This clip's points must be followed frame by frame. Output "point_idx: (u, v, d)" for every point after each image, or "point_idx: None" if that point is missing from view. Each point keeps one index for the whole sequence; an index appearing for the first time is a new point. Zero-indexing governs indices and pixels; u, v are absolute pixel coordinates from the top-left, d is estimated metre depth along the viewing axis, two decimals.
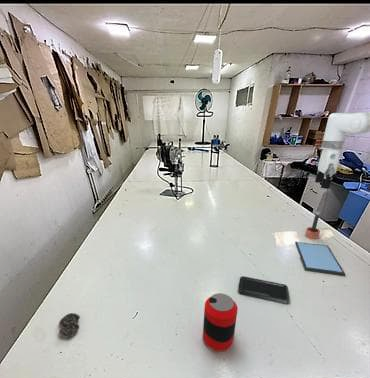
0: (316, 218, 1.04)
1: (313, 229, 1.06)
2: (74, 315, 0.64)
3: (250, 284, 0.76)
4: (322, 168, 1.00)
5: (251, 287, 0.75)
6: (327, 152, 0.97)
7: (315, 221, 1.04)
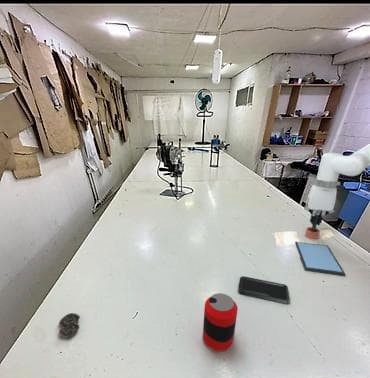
0: (316, 218, 1.04)
1: (313, 229, 1.06)
2: (74, 315, 0.64)
3: (250, 284, 0.76)
4: (328, 206, 0.99)
5: (251, 287, 0.75)
6: (334, 191, 0.96)
7: (315, 221, 1.04)
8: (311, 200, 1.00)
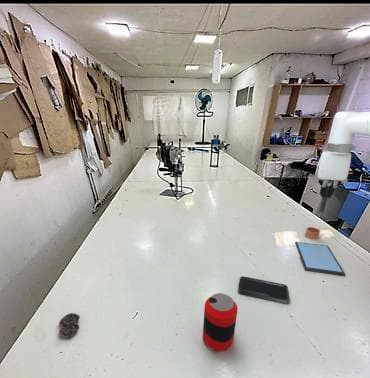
0: (327, 190, 0.92)
1: (323, 203, 0.94)
2: (74, 315, 0.64)
3: (250, 284, 0.76)
4: (341, 175, 0.87)
5: (251, 287, 0.75)
6: (349, 156, 0.84)
7: (326, 193, 0.92)
8: (321, 168, 0.88)
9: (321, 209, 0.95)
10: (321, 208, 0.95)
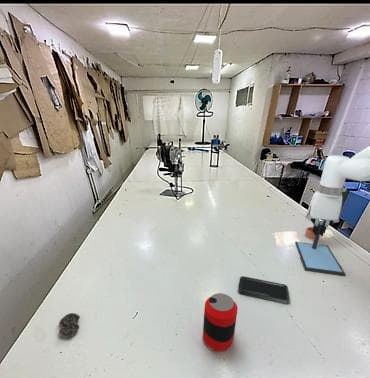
0: (319, 228, 0.93)
1: (316, 240, 0.95)
2: (74, 315, 0.64)
3: (250, 284, 0.76)
4: (332, 215, 0.89)
5: (251, 287, 0.75)
6: (340, 198, 0.86)
7: (318, 231, 0.94)
8: (314, 208, 0.89)
9: (314, 246, 0.96)
10: (314, 245, 0.96)
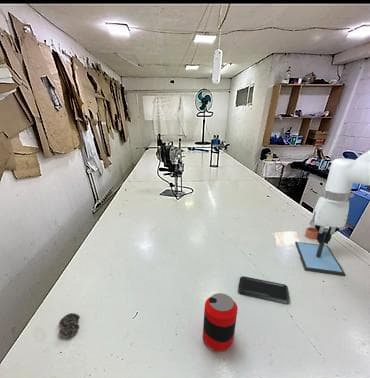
0: (324, 235, 0.87)
1: (320, 248, 0.90)
2: (74, 315, 0.64)
3: (250, 284, 0.76)
4: (338, 223, 0.83)
5: (251, 287, 0.75)
6: (347, 205, 0.80)
7: (323, 239, 0.88)
8: (318, 215, 0.83)
9: (318, 254, 0.91)
10: (318, 253, 0.91)
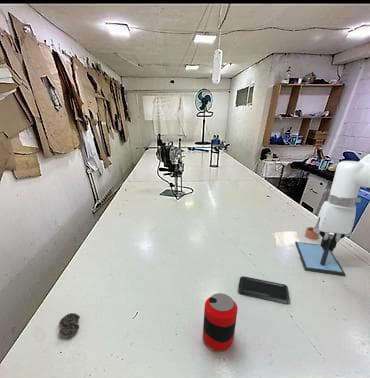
0: (329, 242, 0.82)
1: (325, 255, 0.85)
2: (74, 315, 0.64)
3: (250, 284, 0.76)
4: (344, 229, 0.78)
5: (251, 287, 0.75)
6: (353, 210, 0.75)
7: (327, 246, 0.83)
8: (323, 221, 0.79)
9: (322, 262, 0.86)
10: (322, 260, 0.86)
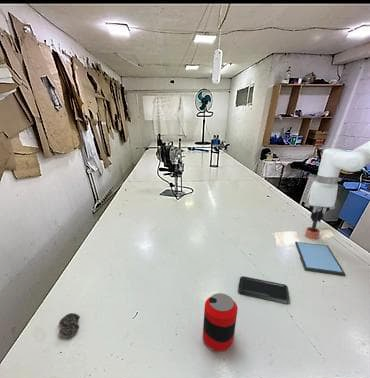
0: (317, 214, 1.03)
1: (314, 226, 1.05)
2: (74, 315, 0.64)
3: (250, 284, 0.76)
4: (329, 203, 0.98)
5: (251, 287, 0.75)
6: (335, 187, 0.95)
7: (316, 218, 1.04)
8: (312, 196, 0.99)
9: (312, 231, 1.06)
10: (312, 230, 1.06)
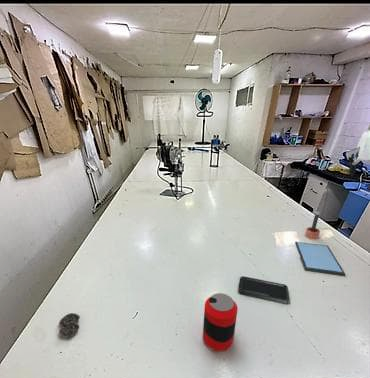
0: (316, 218, 1.04)
1: (313, 229, 1.06)
2: (74, 315, 0.64)
3: (250, 284, 0.76)
4: None
5: (251, 287, 0.75)
6: None
7: (315, 221, 1.04)
8: (363, 148, 0.85)
9: None
10: None
